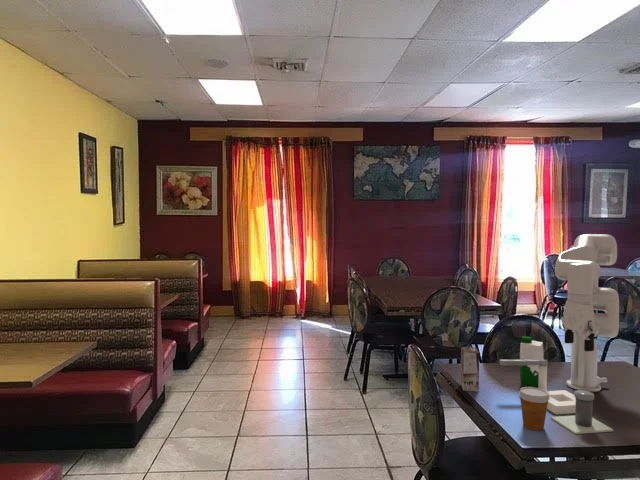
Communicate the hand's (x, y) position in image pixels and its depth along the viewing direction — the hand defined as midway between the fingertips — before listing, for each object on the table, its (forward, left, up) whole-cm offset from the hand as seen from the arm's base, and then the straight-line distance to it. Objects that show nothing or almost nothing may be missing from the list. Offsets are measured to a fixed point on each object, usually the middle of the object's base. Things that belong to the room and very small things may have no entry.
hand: (578, 346), depth 160 cm
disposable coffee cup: (+19, +4, -26) cm, 32 cm away
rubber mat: (+2, +5, -26) cm, 26 cm away
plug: (+2, +5, -25) cm, 26 cm away
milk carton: (-5, -34, -26) cm, 43 cm away
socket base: (-2, -15, -26) cm, 30 cm away
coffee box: (+23, -34, -26) cm, 49 cm away
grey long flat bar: (+6, -24, -13) cm, 28 cm away
